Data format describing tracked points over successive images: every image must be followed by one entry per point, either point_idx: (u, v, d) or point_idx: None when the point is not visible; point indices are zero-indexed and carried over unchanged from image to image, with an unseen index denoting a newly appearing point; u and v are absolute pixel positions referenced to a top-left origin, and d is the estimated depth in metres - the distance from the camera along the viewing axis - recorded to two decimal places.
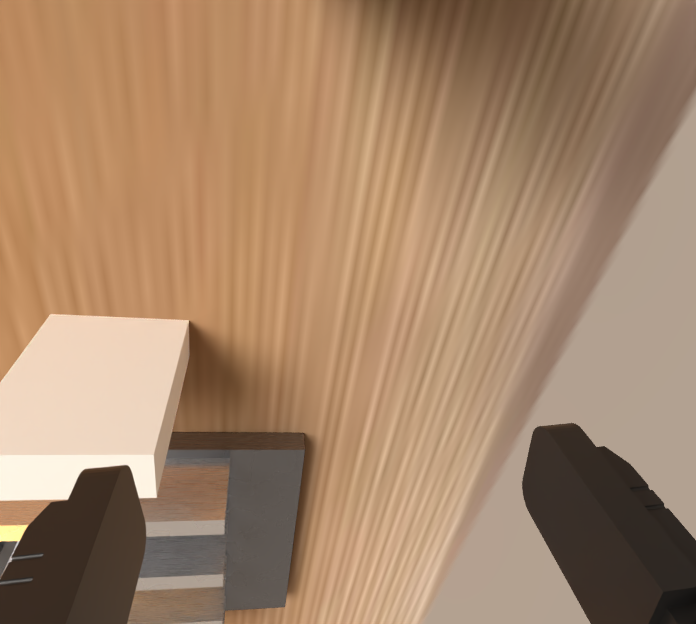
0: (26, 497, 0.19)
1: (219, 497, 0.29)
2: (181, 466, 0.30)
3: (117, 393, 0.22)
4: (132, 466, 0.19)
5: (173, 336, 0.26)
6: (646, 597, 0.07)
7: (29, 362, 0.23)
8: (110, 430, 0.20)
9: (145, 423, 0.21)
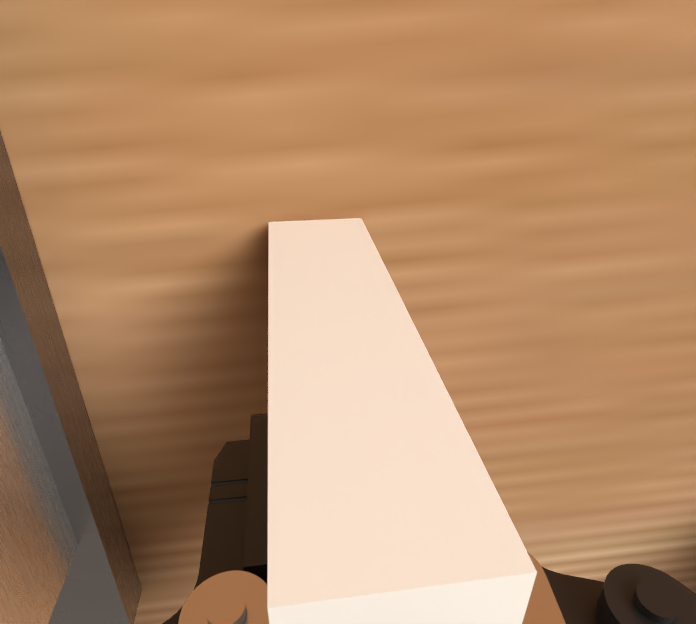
0: None
1: None
2: (44, 495, 0.14)
3: None
4: None
5: None
6: None
7: None
8: None
9: None
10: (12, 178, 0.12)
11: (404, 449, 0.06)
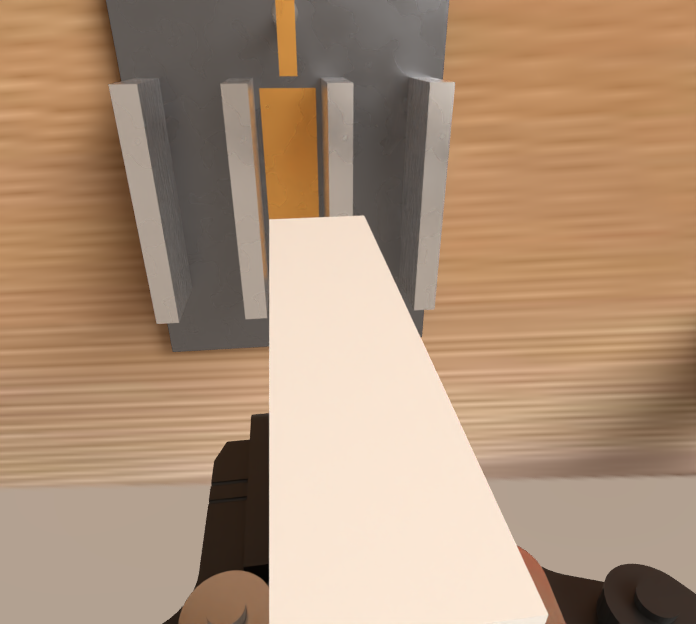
0: None
1: None
2: None
3: None
4: None
5: None
6: None
7: None
8: None
9: None
10: None
11: (410, 474, 0.06)
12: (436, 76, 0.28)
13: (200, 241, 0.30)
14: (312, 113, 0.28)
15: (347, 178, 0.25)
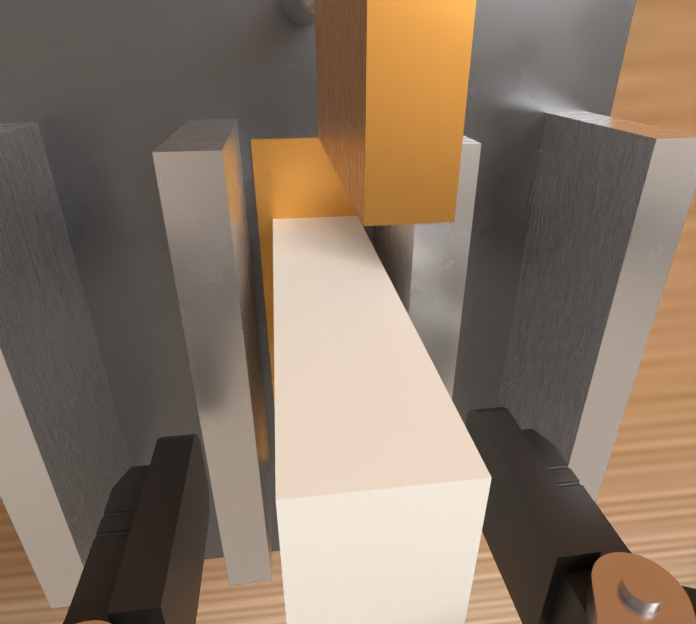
0: None
1: None
2: None
3: None
4: None
5: None
6: (546, 564, 0.08)
7: None
8: None
9: None
10: None
11: (389, 394, 0.07)
12: (599, 110, 0.14)
13: (145, 409, 0.17)
14: None
15: (446, 342, 0.12)
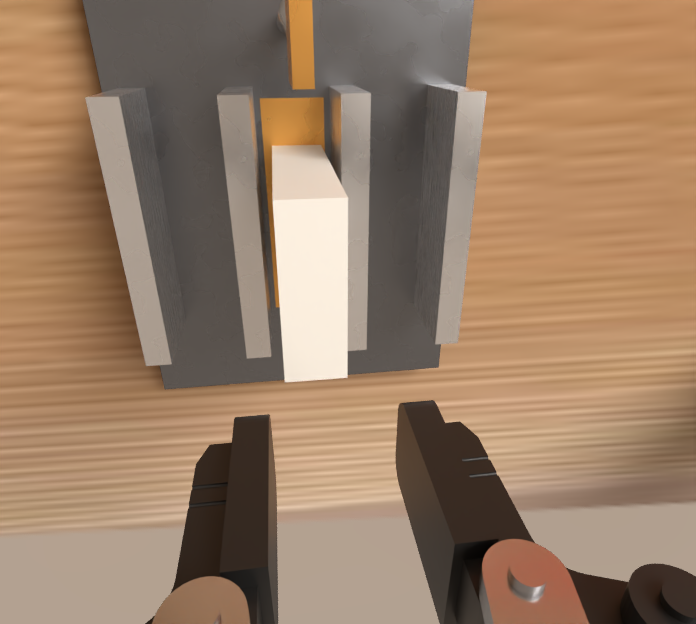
0: (282, 265, 0.17)
1: None
2: None
3: None
4: (330, 361, 0.19)
5: None
6: (448, 551, 0.08)
7: None
8: None
9: None
10: None
11: (318, 185, 0.18)
12: (458, 83, 0.25)
13: (194, 269, 0.27)
14: (319, 126, 0.25)
15: (362, 201, 0.22)
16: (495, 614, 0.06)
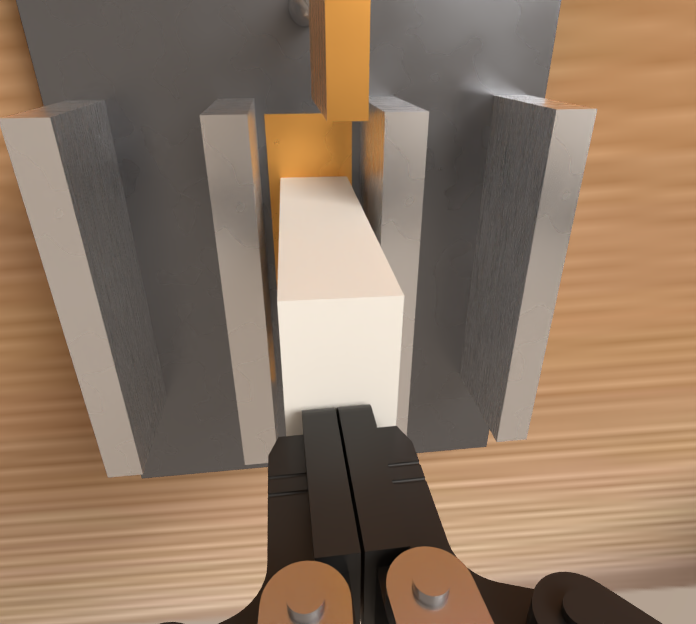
0: (292, 397, 0.10)
1: None
2: None
3: None
4: None
5: None
6: (362, 558, 0.08)
7: None
8: None
9: None
10: None
11: (351, 264, 0.11)
12: (535, 94, 0.18)
13: (177, 335, 0.21)
14: (345, 151, 0.18)
15: (409, 263, 0.15)
16: None
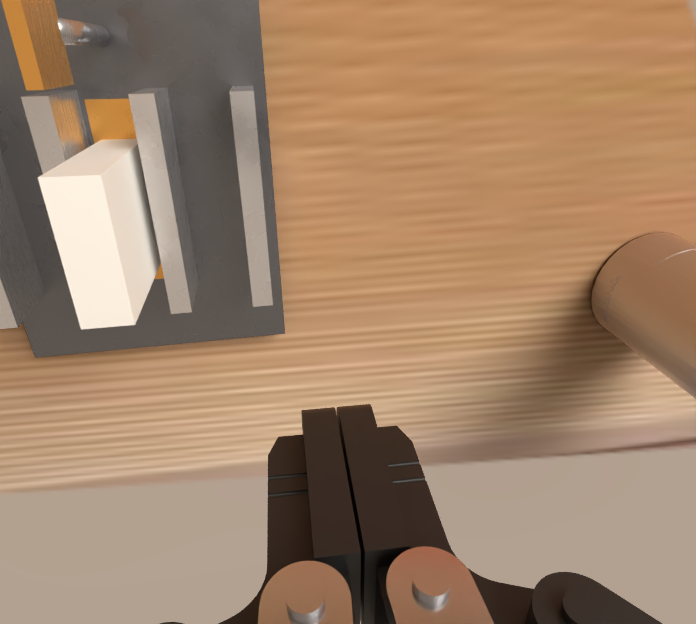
0: (57, 230, 0.21)
1: None
2: None
3: (140, 254, 0.26)
4: (116, 310, 0.23)
5: None
6: (362, 558, 0.08)
7: (131, 162, 0.26)
8: (132, 278, 0.24)
9: (139, 297, 0.25)
10: None
11: (90, 167, 0.22)
12: (258, 85, 0.29)
13: (47, 248, 0.31)
14: None
15: (163, 183, 0.27)
16: None
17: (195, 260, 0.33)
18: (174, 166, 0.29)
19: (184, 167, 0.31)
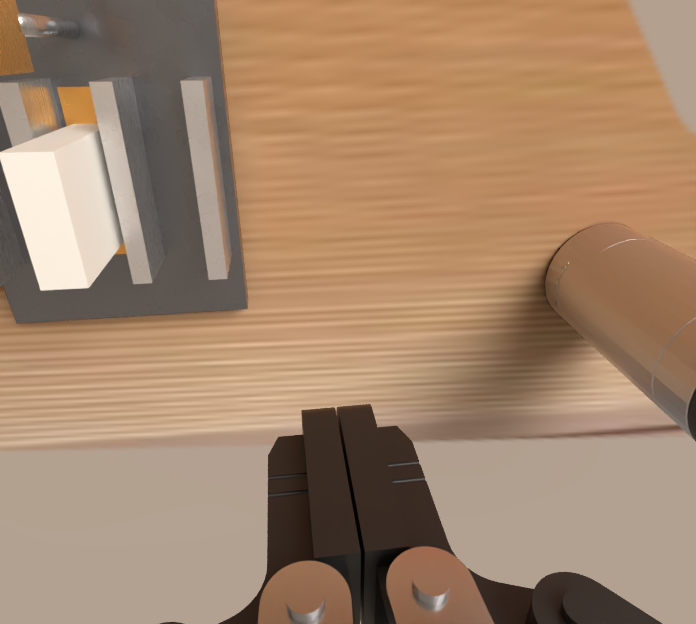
0: (16, 200, 0.24)
1: (228, 264, 0.35)
2: (226, 220, 0.36)
3: (99, 227, 0.29)
4: (71, 274, 0.26)
5: None
6: (362, 558, 0.08)
7: (93, 144, 0.29)
8: (88, 246, 0.27)
9: (95, 264, 0.28)
10: None
11: (48, 146, 0.25)
12: (216, 75, 0.32)
13: None
14: None
15: (123, 163, 0.29)
16: None
17: (161, 237, 0.36)
18: (137, 149, 0.31)
19: (149, 150, 0.33)
